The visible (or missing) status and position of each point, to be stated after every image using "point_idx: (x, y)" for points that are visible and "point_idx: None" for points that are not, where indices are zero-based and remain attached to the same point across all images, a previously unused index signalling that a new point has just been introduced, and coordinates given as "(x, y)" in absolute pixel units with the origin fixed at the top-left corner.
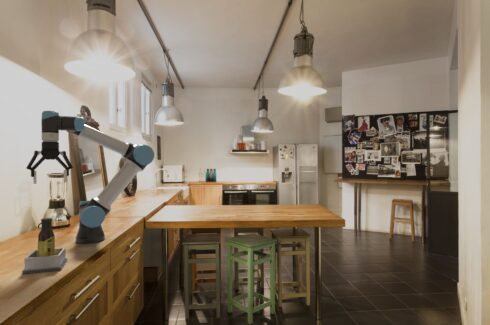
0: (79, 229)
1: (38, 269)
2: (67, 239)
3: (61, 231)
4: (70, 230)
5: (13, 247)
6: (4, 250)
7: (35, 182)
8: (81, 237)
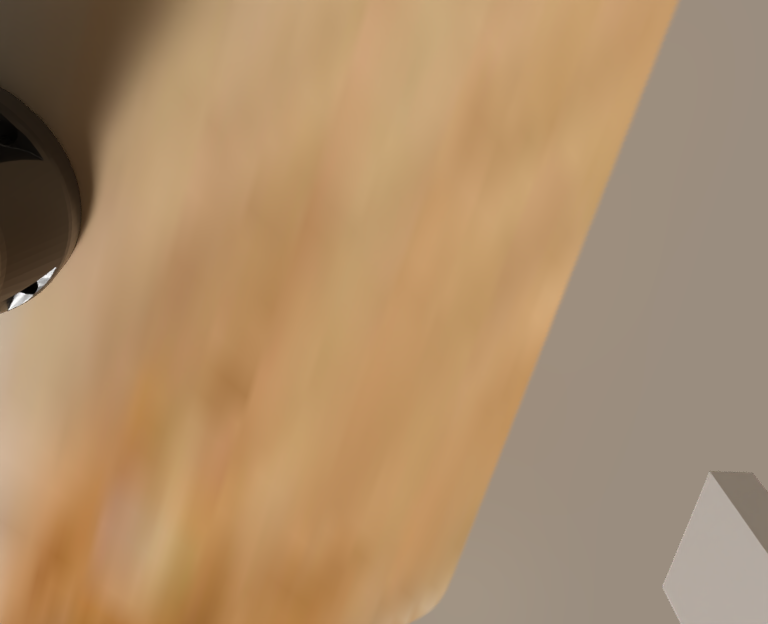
0: (8, 239)
1: None
2: (118, 355)
3: (97, 605)
4: (34, 597)
5: (474, 388)
6: (540, 350)
7: (753, 498)
8: (28, 155)
